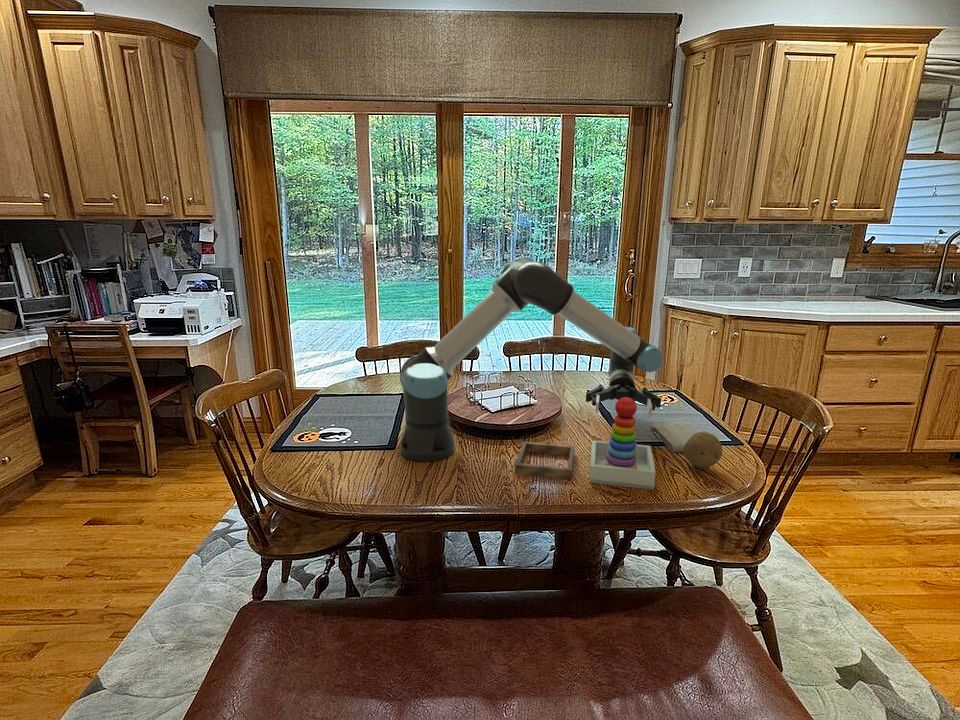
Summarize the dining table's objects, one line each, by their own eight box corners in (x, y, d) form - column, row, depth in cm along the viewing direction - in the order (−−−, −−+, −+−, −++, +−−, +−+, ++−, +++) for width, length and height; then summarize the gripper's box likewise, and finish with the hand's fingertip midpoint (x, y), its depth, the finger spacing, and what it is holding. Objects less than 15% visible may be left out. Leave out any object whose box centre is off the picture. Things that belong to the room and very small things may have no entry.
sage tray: (589, 482, 125) (590, 465, 124) (591, 455, 139) (592, 440, 138) (653, 489, 121) (655, 472, 120) (649, 461, 135) (650, 445, 134)
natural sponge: (720, 480, 126) (726, 443, 123) (682, 474, 129) (686, 437, 126) (718, 464, 134) (723, 428, 131) (681, 458, 137) (685, 424, 134)
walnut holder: (514, 473, 129) (515, 464, 129) (523, 449, 142) (523, 441, 142) (570, 479, 126) (571, 470, 126) (574, 454, 139) (574, 446, 139)
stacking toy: (638, 477, 125) (644, 405, 120) (604, 473, 127) (609, 402, 122) (635, 462, 133) (641, 394, 128) (603, 459, 134) (608, 392, 129)
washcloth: (684, 427, 158) (685, 418, 157) (714, 453, 141) (715, 443, 140) (646, 428, 157) (647, 419, 157) (672, 454, 140) (673, 444, 139)
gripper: (663, 399, 154) (671, 427, 134) (579, 393, 159) (575, 418, 139) (666, 376, 151) (674, 400, 132) (580, 370, 157) (576, 392, 137)
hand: (623, 409), depth 136 cm, fingers open, 13 cm apart
